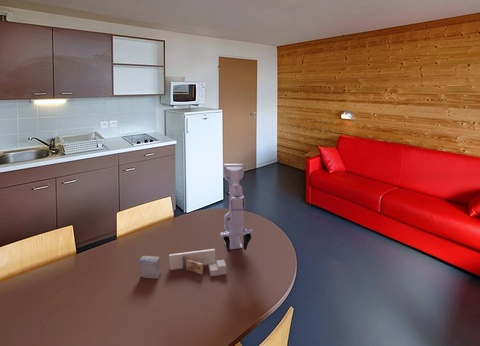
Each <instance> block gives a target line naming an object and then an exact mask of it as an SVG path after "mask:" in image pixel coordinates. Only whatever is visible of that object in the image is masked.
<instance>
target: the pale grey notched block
mask: <svg viewBox="0 0 480 346" xmlns="http://www.w3.org/2000/svg"><path fill="white" fill-rule="evenodd" d="M208 272H209V275H210V277H215V276H222V275H226V274H227V264H226V262H225V259H218V260H215V264H209V265H208Z"/></svg>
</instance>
